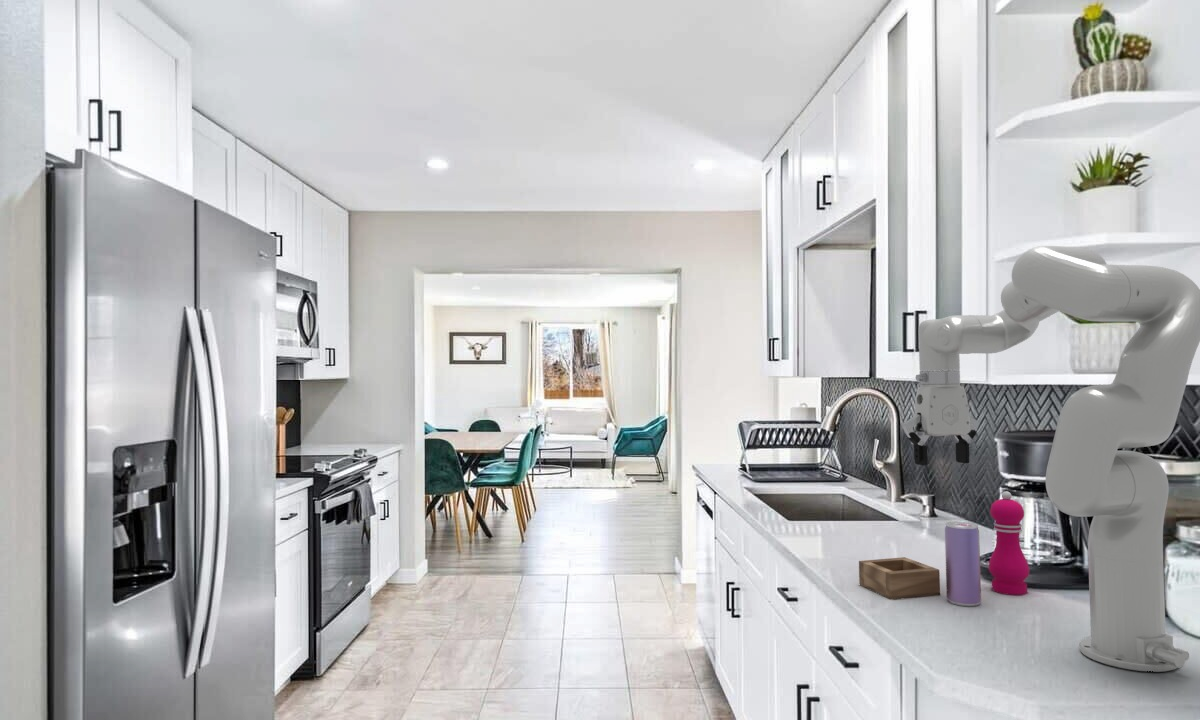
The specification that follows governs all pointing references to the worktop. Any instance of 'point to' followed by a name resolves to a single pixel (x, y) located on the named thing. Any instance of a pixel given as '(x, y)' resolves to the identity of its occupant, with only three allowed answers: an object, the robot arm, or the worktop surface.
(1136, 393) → the robot arm
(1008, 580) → the pepper mill
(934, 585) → the holder
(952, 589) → the beverage can
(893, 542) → the worktop surface
